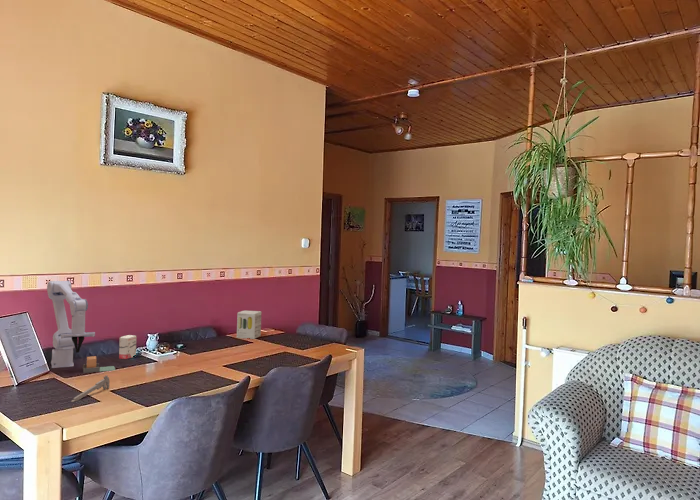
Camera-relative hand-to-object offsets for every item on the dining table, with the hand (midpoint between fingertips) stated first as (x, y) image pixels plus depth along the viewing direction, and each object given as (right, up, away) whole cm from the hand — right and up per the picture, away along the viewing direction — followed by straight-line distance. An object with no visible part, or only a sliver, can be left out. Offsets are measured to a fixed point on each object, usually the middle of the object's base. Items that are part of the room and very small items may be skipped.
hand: (77, 352), depth 239 cm
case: (+4, -10, +5) cm, 11 cm away
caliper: (+25, -11, -34) cm, 44 cm away
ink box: (+10, -10, +31) cm, 34 cm away
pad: (+12, -10, +6) cm, 16 cm away
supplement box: (+62, -11, +103) cm, 121 cm away
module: (+6, -9, +2) cm, 11 cm away
